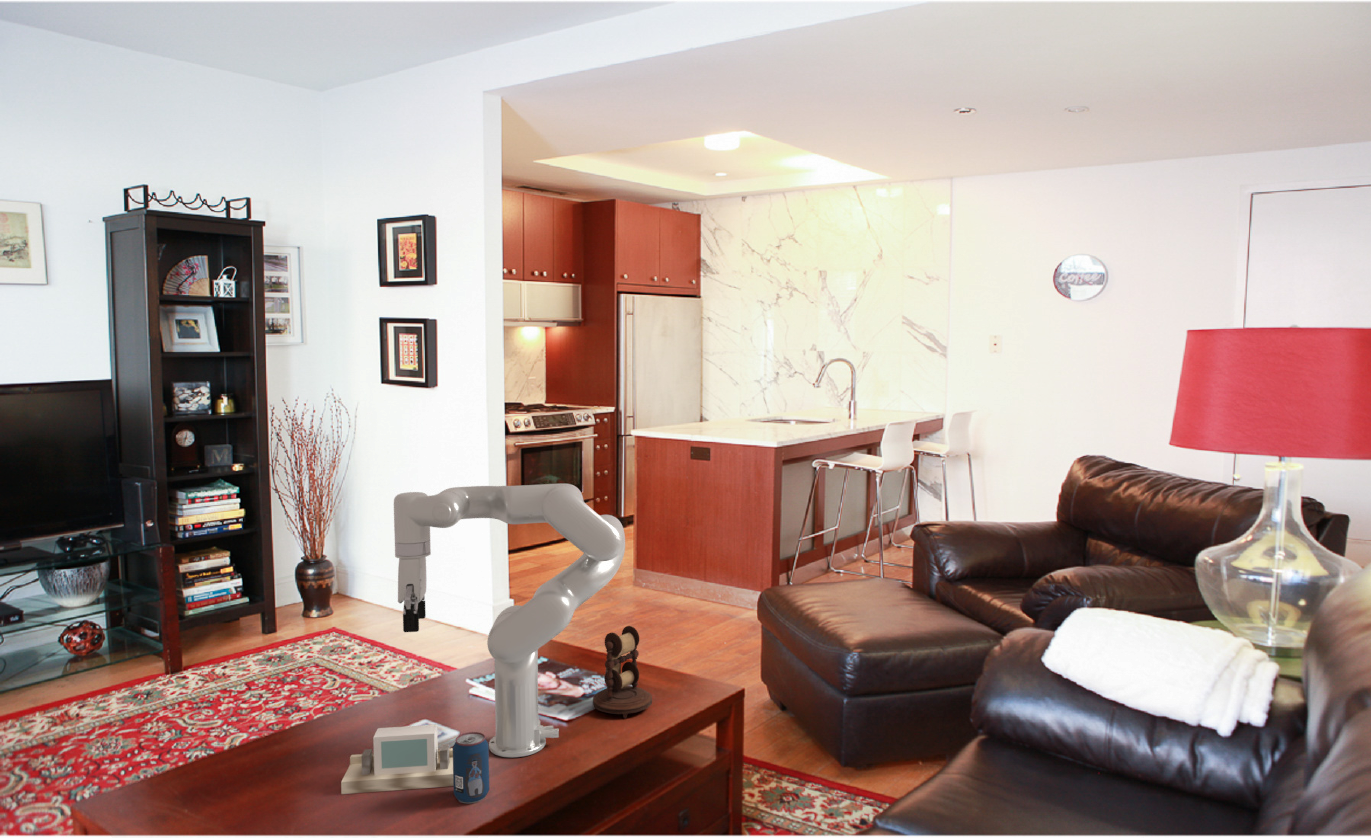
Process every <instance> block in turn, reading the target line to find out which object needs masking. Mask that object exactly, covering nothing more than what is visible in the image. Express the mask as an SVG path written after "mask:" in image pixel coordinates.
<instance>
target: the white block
mask: <svg viewBox="0 0 1371 838" xmlns="http://www.w3.org/2000/svg"><path fill="white" fill-rule="evenodd" d="M438 734H439V733H438V724H427V725H425V724H424V725H410V726H408V725H406V726H393V727H378V728H377V729H376V731H375V733H374V735H373V736H372V737H373V740H372V741H373V742H372V743H373V753H374V776H377V775H391V774H405V773H420V772H434V771H435V770H436V767H437V764H438V749H439V748H438V747H439V746H438V745H439V743H438V737H439V735H438Z"/></svg>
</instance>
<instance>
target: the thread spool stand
mask: <svg viewBox="0 0 1371 838" xmlns="http://www.w3.org/2000/svg"><path fill="white" fill-rule="evenodd" d="M639 644H640V634H639V632H638V630H637V629H636V628H635V627H634V626H632V625H627V626H625V627H624V628H623V629H622V631H621V635H618V634H617V633H615V632H608V633H607V634H606V635H605V638H604V647H605V649H606V650H605V652H606V661H605V662H604V666H605V667H604V668H605V672H604V683H605V686H606V688H605V689H602V690H600V691H598V692H597V693H596V694H595V695H594V696H593V697H592V706H593V709H594V710H595V711H596V710H598V711H599V712H602V713H605V714H606V713H607V714H612V715H613V714H614V715H622V717H623V719H624V720H625V719H627V717H628V714H634V713H638V712H642V711H644V710H646V709H648V708H649V707H650V706H651V705H652V703H653V696H652V694H651V693H650V692H649V691H647V690H645V689H644V688H641V687H638V685H639V683H638V682H639V679H640V670H639V669H638V662H637V660H638V657H639V655H640V653H639V650H637V649H638V646H639ZM627 660H632V661H627ZM622 664H623V665H622Z"/></svg>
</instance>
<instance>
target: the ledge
mask: <svg viewBox="0 0 1371 838" xmlns="http://www.w3.org/2000/svg"><path fill="white" fill-rule="evenodd" d="M340 783H341V784H340V788H341V789H340V790H341V792H340V794H341V795H348V794H362V793H375V792H390V791H403V790H404V791H405V790H415V789H417V790H418V789H429V788H430V789H431V788H442V787H446V788H447V787H453V747H451V748H450V743H444V744H443V743H442V744H441V746H440V748H438V764H437V767H436V770H435V771H434V772H420V773H405V774H391V775H377V776H374V752H373V748H370V749H369V748H367V749H364V750H363V752H362V753H360V754H359V753H358V754H351V755H350V757H349V766H348V768H347V769H346V772H345V774H344V776H343V777H342V780H341V781H340Z"/></svg>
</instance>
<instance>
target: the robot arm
mask: <svg viewBox="0 0 1371 838" xmlns="http://www.w3.org/2000/svg"><path fill="white" fill-rule="evenodd" d="M468 519H469V520H470V519H494V520H499V521H501V522H503V523H505V524H509V525H522V524H523V525H525V524H527V525H528V524H539V523H540V524H541V523H546V524H548V525H550V526H551V527H552V528H553V529H554V530H555V531H557V533H559V534H560V535H561V536H562V537H564V538H565V539H566V540H568V542H570V543H571V544H572V545H574V546H575V547H576V548H577V549H578V550H579V551H581V552H582V554H581V556H580V557H578V559H576V560H575V561H573V562H572V563H571V564H570V565H568V566H567V567H566V568H565V569H563V570H562V571H560V572H559V573H558V574H557V575H556V574H555V576H553V577H552V578H550V579H549V580H547V581H545V582H544V583H542V584H541V585H539V587H538V588H537V589H536V590H535V592H534V595H533V597H532V598H531V599H530V600H528V601H527V602H526V603H524V604H523V605H518V604H517V605H511V606H508V607H506V608H504V609H503V610H502V611H501V612H499V614H498V615H497V616H496V618H495V620H494V622H493V624H492V626H491V628H490V630H489V633H488V636H487V641H486V642H487V649H488V652H489V654H490V656H491V657H492V658H493V659H494V702H495V703H494V709H495V712H494V713H495V735H494V736H493V737H491V738H490V740H489V742H488V749H489V752H491V753H492V754H493V755H496V756H498V757H503V758H520V757H521V758H522V757H527V756H530V755H533V754H536V753H538V752H540V751H541V750H543V748H544V747H545V746H546V744H547V741H546V740H547V739H549V738H551V739H554V738H556V739H557V738H559V737H560V736H559V735H560V734H559V733H560V732H559V730H560V729H559V727H558V728H554V725H547V726H546V725H545V726H544V725H543V724H542V725H541V719H539V679H538V678H539V669H538V668H539V667H538V666H539V662H538V661H539V657H538V656H539V654H538V653H539V651H538V650H539V649H541V647H543V646H545V645H546V644H547V643H548V642H550V641H551V640H553V639H554V638H555V637H557V636H558V635H559V634H561V633H562V632H563V631H564V630H565V629H566V628H567V627H568V625H569V624H570V623H571V621H572V619H573V617H574V613H575V611H576V610H577V609H578V608H579V607H580V606H581V605H583V604H585V602H587V601H589V600H590V599H591V598H592V597H594V595H595V594H597V593H598V592H599V591H601V590H602V589H603V588H604V587H606V585H608V584H609V583H610V581H612V580H613V578H614V576H615V575H616V574H617V573H618V571H619V569H620V567H621V565H622V562H623V558H624V555H625V551H626V534H625V529H624V526H623V525H622V523H621V521H620V519H618V518H617V517H616V516H614V515H611V514H601V515H600V514H598V513H597V512H596V511H595V510H593V508H592V507H590V506H589V505H588V504H587V503H585V501H584V497H583V494H582V492H581V490H580V489H579V488H578V487H577V486H575V485H573V484H571V483H548V484H547V483H545V484H543V483H542V484H529V485H528V484H527V485H526V484H524V485H474V486H473V485H472V486H457V487H456V486H455V487H449V488H446V489H444V490H442V491H440V492H438V493H437V494H434V495H428V494H427V493H425V492H419V491H410V492H403V493H399V494H397V495H395V497H394V499H393V524H394V526H393V527H394V529H393V530H394V557H395V558H397V559H398V567H397V568H398V570H397V574H398V575H397V602H398V603H399V604H402V603H403V602H404V603H403V610H402V626H403V627H402V628H403V629H402V631H403V632H404V633H416V632H417V633H418V632H419V630H420V620H422V619H423V620H424V619H425V618H426V613H427V612H426V599H425V595H426V592H427V558H426V557H429V556H431V555H432V554H431V552H432V551H431V528H436V529H437V528H439V529H447V528H451V527H453V526H454V525H456V524H457V523H458V522H459V521H460V520H468ZM546 738H547V739H546Z"/></svg>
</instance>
